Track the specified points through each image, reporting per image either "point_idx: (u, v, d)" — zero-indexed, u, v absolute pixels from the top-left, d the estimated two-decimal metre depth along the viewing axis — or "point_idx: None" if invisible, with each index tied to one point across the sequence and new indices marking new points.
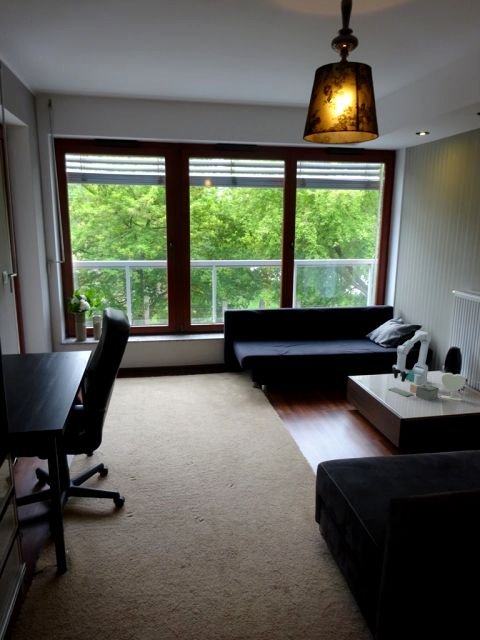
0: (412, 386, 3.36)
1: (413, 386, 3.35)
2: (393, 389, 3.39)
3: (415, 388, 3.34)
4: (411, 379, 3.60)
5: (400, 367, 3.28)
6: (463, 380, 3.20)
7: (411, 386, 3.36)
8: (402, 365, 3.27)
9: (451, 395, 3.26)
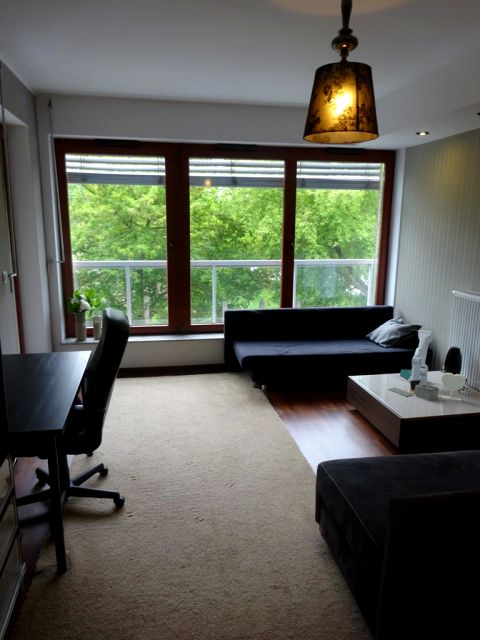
0: None
1: None
2: (393, 389, 3.39)
3: (415, 388, 3.33)
4: None
5: (411, 376, 3.35)
6: (463, 380, 3.20)
7: None
8: (412, 374, 3.33)
9: (451, 395, 3.26)
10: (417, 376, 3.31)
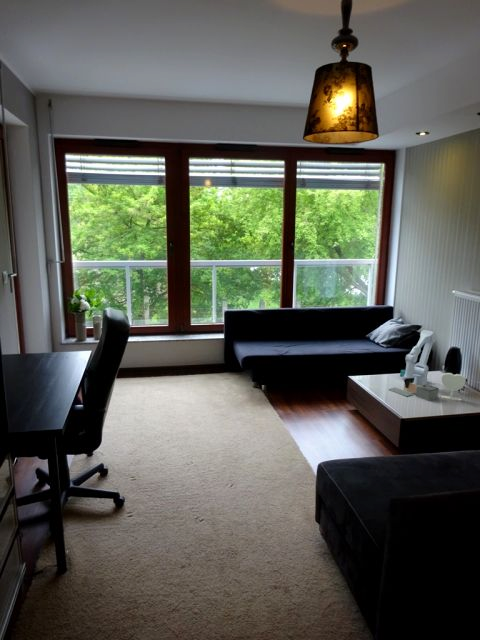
0: None
1: None
2: (393, 389, 3.39)
3: (409, 386, 3.38)
4: None
5: (405, 374, 3.39)
6: (463, 380, 3.20)
7: None
8: (406, 372, 3.37)
9: (451, 395, 3.26)
10: (411, 374, 3.35)
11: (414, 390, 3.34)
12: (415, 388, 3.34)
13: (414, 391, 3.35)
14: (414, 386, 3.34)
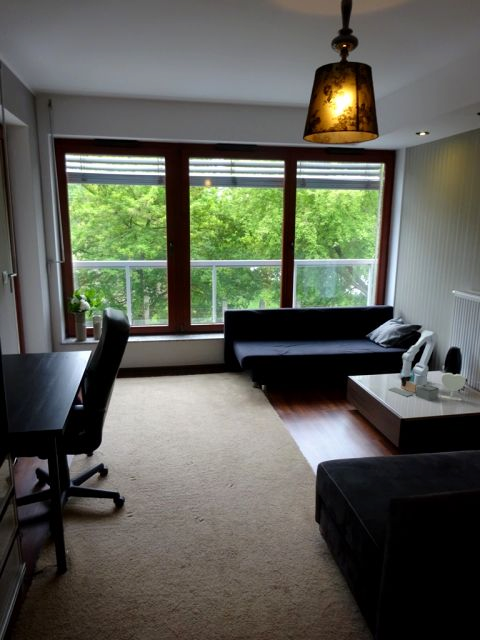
0: None
1: None
2: (393, 389, 3.39)
3: (406, 384, 3.40)
4: (411, 379, 3.60)
5: (402, 372, 3.41)
6: (463, 380, 3.20)
7: None
8: (403, 370, 3.40)
9: (451, 395, 3.26)
10: (408, 372, 3.38)
11: (411, 389, 3.37)
12: (412, 387, 3.36)
13: (411, 390, 3.37)
14: (411, 385, 3.36)
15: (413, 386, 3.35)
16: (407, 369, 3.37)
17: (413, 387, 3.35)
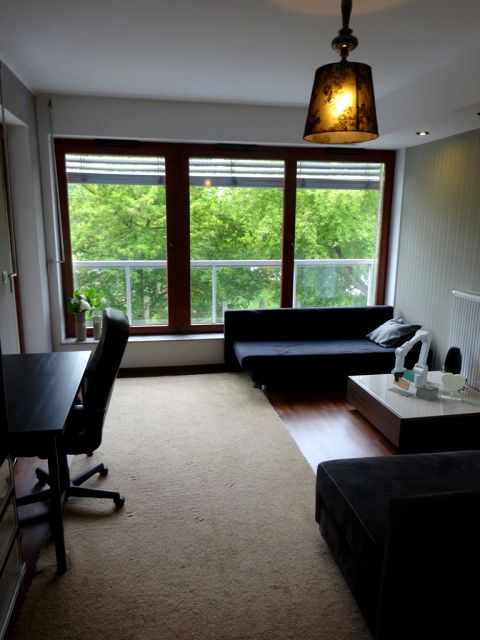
0: None
1: None
2: (393, 389, 3.39)
3: (399, 381, 3.34)
4: (411, 379, 3.60)
5: (395, 367, 3.35)
6: (463, 380, 3.20)
7: None
8: (396, 366, 3.34)
9: (451, 395, 3.26)
10: (401, 367, 3.32)
11: (403, 386, 3.31)
12: (405, 384, 3.30)
13: (403, 387, 3.31)
14: (404, 382, 3.31)
15: (406, 384, 3.29)
16: (400, 364, 3.31)
17: (406, 385, 3.29)
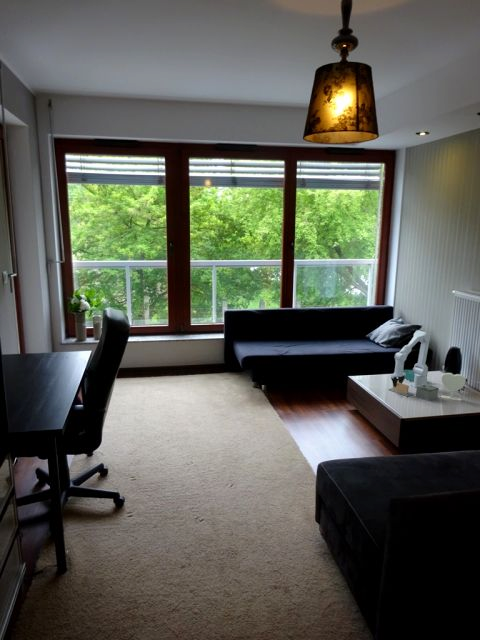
0: None
1: None
2: (393, 389, 3.39)
3: (398, 385, 3.35)
4: (411, 379, 3.60)
5: None
6: (463, 380, 3.20)
7: None
8: (395, 370, 3.34)
9: (451, 395, 3.26)
10: (400, 372, 3.32)
11: (403, 390, 3.32)
12: (404, 388, 3.31)
13: (403, 391, 3.32)
14: (403, 386, 3.32)
15: (405, 387, 3.30)
16: (399, 369, 3.32)
17: (405, 388, 3.30)
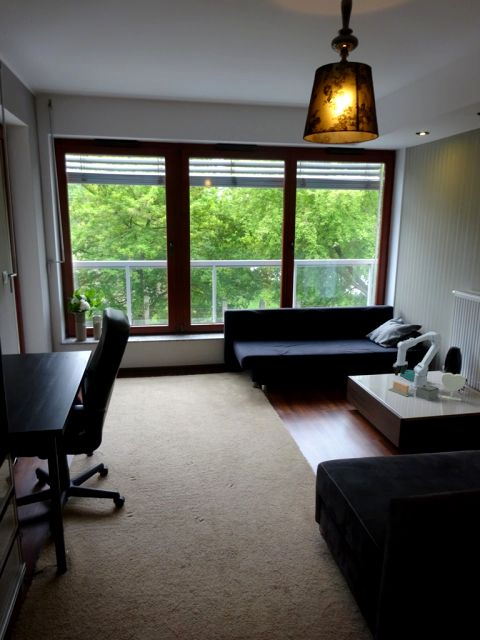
0: (395, 383, 3.37)
1: (396, 383, 3.37)
2: (393, 389, 3.39)
3: (398, 385, 3.35)
4: (411, 379, 3.60)
5: (397, 361, 3.45)
6: (463, 380, 3.20)
7: (394, 383, 3.38)
8: (397, 359, 3.43)
9: (451, 395, 3.26)
10: (402, 361, 3.41)
11: (403, 390, 3.32)
12: (404, 388, 3.31)
13: (403, 391, 3.32)
14: (403, 386, 3.32)
15: (405, 387, 3.30)
16: (402, 358, 3.41)
17: (405, 388, 3.30)
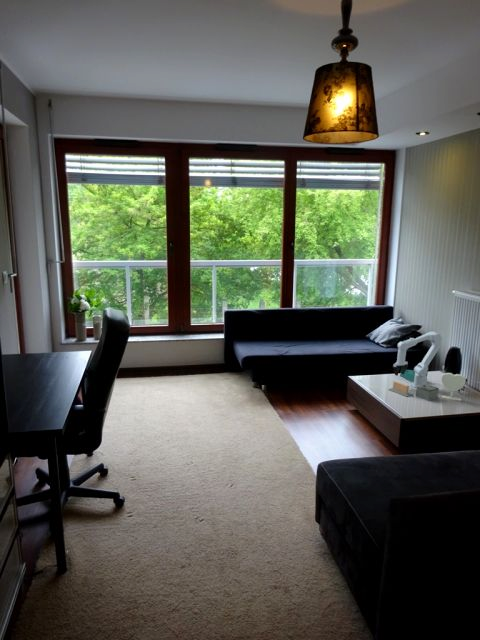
0: (395, 383, 3.37)
1: (396, 383, 3.37)
2: (393, 389, 3.39)
3: (398, 385, 3.35)
4: (411, 379, 3.60)
5: (397, 361, 3.45)
6: (463, 380, 3.20)
7: (394, 383, 3.38)
8: (397, 359, 3.43)
9: (451, 395, 3.26)
10: (402, 361, 3.41)
11: (403, 390, 3.32)
12: (404, 388, 3.31)
13: (403, 391, 3.32)
14: (403, 386, 3.32)
15: (405, 387, 3.30)
16: (402, 358, 3.41)
17: (405, 388, 3.30)
